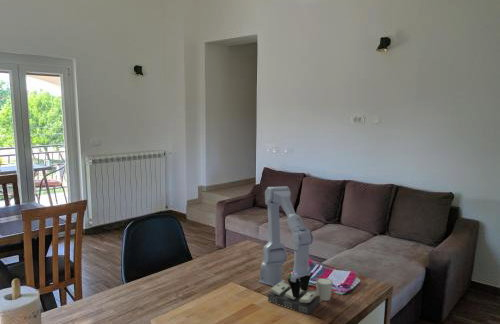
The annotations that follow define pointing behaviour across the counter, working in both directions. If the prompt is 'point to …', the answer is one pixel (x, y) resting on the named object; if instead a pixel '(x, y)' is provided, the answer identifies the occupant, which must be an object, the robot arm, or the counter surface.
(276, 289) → the pale rectangular block
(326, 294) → the shot glass
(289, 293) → the filing cabinet drawer
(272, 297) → the filing cabinet
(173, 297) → the counter surface
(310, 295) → the cabinet drawer
